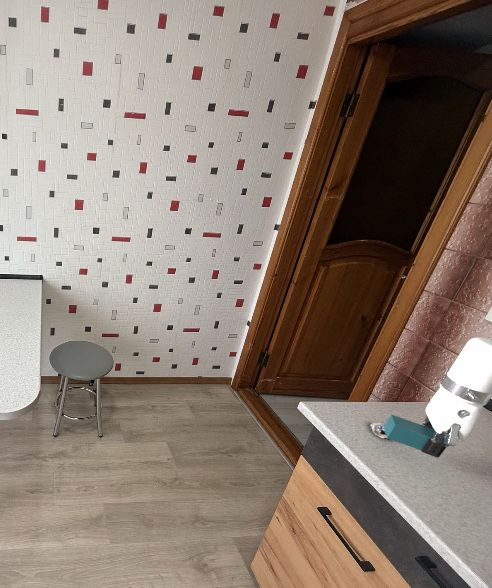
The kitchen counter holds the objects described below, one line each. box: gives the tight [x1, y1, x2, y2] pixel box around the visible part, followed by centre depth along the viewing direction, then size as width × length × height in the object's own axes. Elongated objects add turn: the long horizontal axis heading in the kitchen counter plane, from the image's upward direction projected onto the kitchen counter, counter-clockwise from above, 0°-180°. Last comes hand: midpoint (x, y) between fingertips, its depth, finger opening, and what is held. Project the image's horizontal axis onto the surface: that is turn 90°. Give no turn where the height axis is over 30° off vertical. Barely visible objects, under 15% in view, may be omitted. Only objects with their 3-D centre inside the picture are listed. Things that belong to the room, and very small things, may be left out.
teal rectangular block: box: [384, 414, 447, 458], centre depth 84 cm, size 10×4×4 cm, turn 58°
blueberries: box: [370, 421, 388, 439], centre depth 93 cm, size 7×8×2 cm
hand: (426, 446), depth 83 cm, fingers closed on teal rectangular block, 4 cm apart
